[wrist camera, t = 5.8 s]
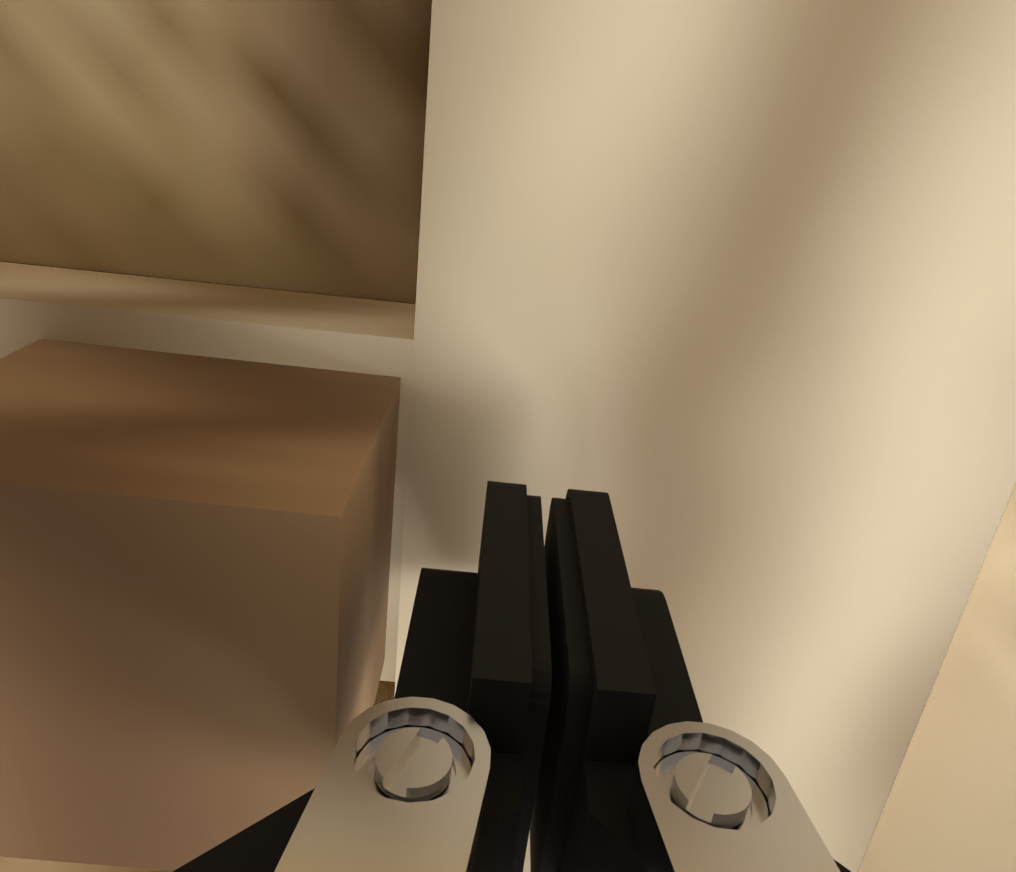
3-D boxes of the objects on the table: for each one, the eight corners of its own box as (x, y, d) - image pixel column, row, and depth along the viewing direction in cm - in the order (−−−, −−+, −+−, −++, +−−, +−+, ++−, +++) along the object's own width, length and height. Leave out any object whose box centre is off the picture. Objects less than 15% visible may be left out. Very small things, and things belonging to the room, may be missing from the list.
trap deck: (1152, -153, 10) (1524, -306, 6) (781, 893, 18) (850, 1097, 14) (-959, -416, 9) (-1950, -766, 5) (-371, 802, 17) (-615, 993, 13)
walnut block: (400, 377, 11) (342, 516, 7) (385, 660, 13) (331, 884, 9) (40, 339, 11) (-212, 461, 7) (80, 631, 13) (-100, 848, 9)
